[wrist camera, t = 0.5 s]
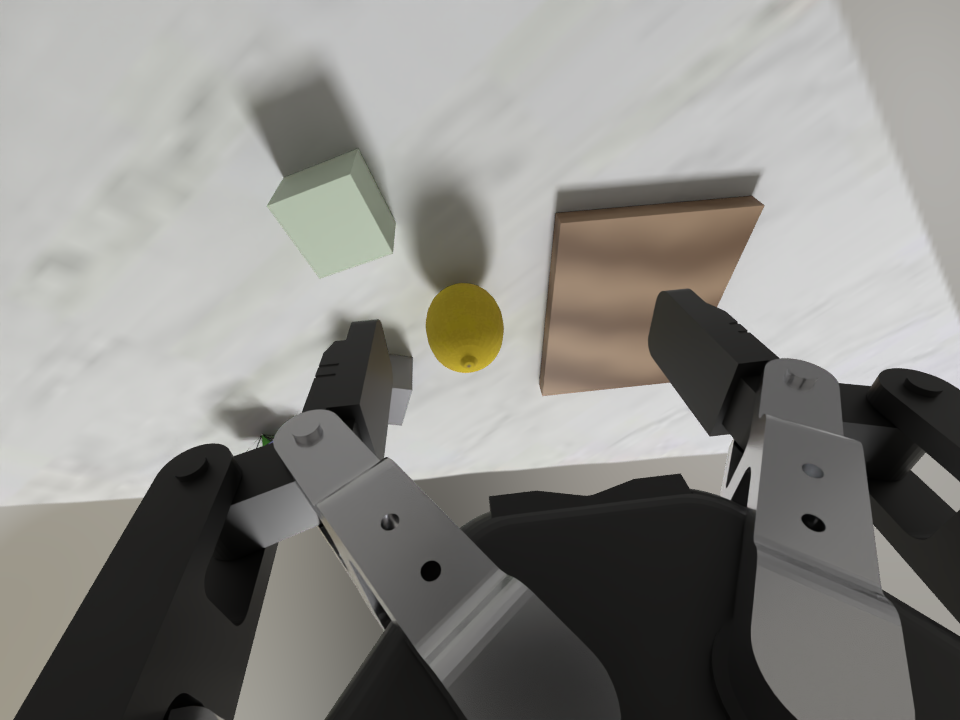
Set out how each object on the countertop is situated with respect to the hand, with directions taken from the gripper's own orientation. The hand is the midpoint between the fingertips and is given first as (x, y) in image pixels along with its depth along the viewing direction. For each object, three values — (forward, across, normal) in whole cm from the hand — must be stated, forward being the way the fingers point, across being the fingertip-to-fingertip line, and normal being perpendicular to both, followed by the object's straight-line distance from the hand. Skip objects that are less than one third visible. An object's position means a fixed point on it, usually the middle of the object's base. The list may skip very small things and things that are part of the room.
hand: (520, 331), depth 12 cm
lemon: (+19, +1, +8) cm, 21 cm away
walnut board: (+20, -12, +12) cm, 26 cm away
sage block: (+18, +8, 0) cm, 20 cm away
